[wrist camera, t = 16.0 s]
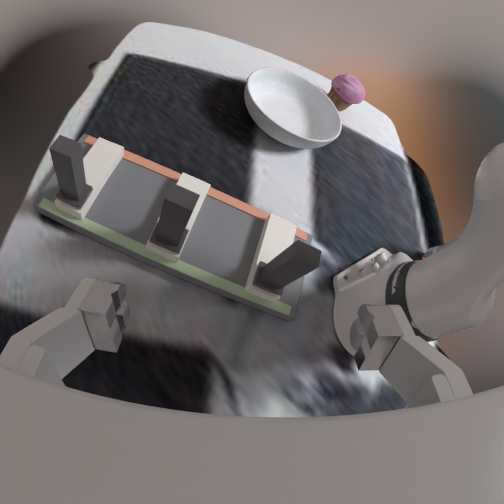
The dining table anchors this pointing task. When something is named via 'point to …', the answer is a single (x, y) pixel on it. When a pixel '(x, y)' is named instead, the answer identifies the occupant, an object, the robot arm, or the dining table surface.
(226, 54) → the dining table surface
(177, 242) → the block
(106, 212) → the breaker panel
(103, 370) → the dining table surface
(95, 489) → the robot arm
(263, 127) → the serving bowl
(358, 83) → the cupcake
